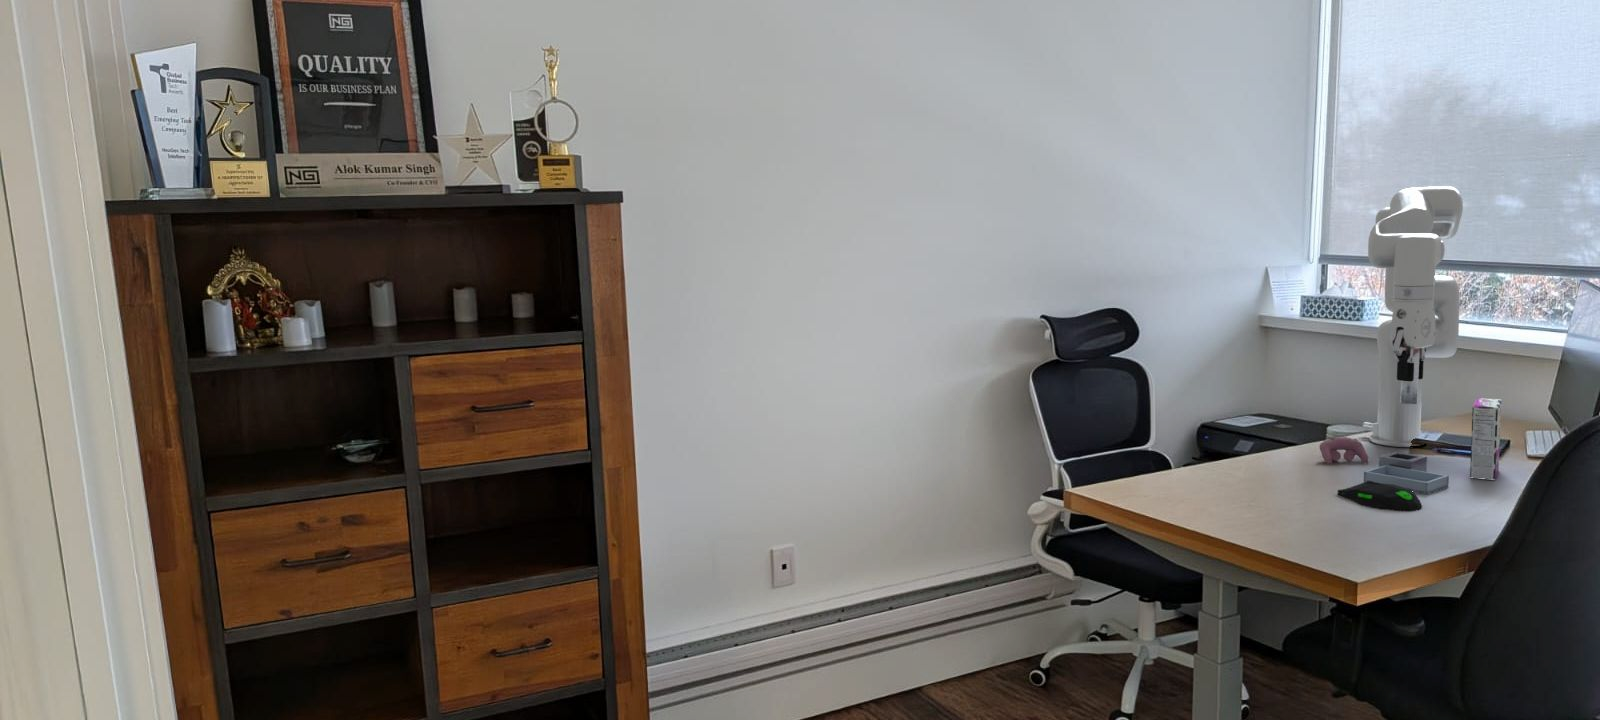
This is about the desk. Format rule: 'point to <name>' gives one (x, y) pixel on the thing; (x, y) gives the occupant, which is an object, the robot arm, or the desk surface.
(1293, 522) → the desk surface
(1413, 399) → the pin
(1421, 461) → the block
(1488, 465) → the candy bar box
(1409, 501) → the computer mouse
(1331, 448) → the video game controller
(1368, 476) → the tray
